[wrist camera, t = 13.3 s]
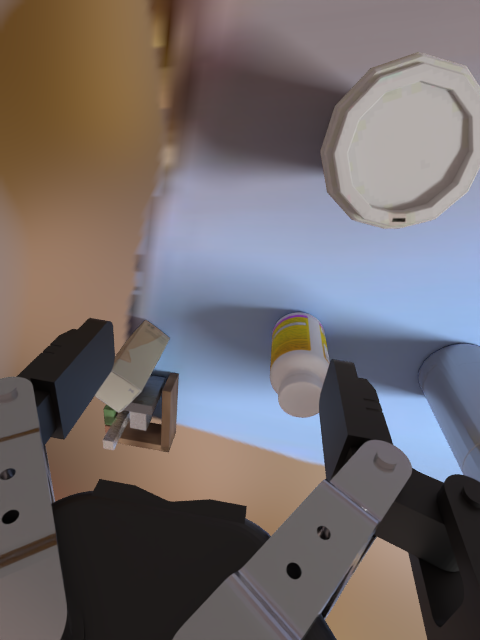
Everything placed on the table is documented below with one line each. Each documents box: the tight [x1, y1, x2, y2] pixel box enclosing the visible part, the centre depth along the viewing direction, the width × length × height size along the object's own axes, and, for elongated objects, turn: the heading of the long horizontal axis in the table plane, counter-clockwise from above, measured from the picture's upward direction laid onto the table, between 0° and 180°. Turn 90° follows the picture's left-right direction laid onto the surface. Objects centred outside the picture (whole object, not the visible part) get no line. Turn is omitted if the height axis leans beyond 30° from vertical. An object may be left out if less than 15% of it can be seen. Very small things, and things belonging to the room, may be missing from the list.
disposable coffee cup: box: [320, 52, 480, 229], centre depth 29 cm, size 11×11×15 cm
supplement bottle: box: [270, 312, 330, 418], centre depth 42 cm, size 7×7×13 cm
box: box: [95, 320, 170, 412], centre depth 46 cm, size 5×4×11 cm
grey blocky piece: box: [103, 375, 165, 450], centre depth 51 cm, size 6×7×8 cm
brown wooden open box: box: [104, 373, 179, 452], centre depth 54 cm, size 9×12×5 cm
